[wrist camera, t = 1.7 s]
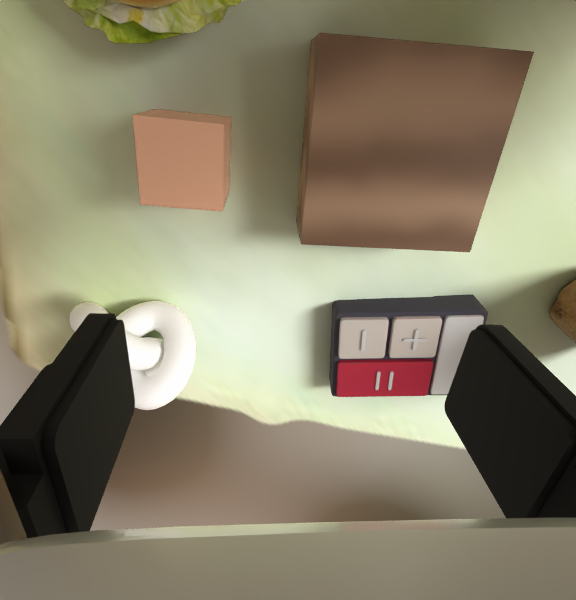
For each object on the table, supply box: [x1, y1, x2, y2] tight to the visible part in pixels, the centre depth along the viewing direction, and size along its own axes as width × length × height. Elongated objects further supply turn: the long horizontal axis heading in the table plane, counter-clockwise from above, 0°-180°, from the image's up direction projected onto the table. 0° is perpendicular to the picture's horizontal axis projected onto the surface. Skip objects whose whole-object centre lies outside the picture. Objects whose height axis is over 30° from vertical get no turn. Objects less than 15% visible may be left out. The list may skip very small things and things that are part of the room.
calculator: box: [330, 295, 488, 397], centre depth 42 cm, size 11×4×15 cm
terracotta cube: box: [133, 109, 231, 211], centre depth 30 cm, size 6×6×6 cm
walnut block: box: [296, 33, 534, 252], centre depth 31 cm, size 14×14×6 cm
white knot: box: [70, 301, 196, 410], centre depth 37 cm, size 11×12×9 cm
